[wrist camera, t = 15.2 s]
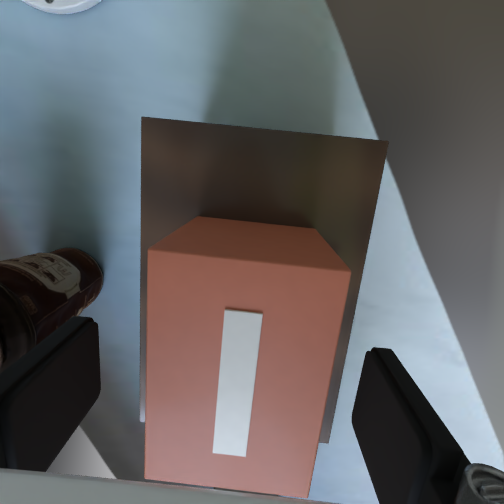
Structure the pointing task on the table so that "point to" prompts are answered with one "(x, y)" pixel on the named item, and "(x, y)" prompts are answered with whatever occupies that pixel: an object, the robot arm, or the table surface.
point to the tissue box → (240, 354)
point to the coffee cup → (42, 297)
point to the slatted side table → (261, 198)
